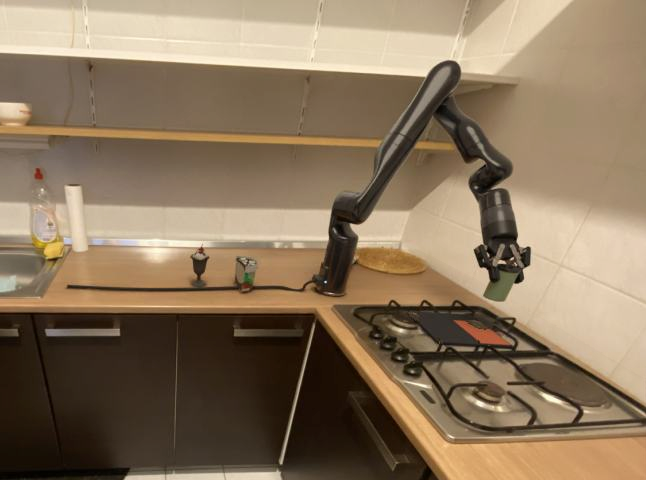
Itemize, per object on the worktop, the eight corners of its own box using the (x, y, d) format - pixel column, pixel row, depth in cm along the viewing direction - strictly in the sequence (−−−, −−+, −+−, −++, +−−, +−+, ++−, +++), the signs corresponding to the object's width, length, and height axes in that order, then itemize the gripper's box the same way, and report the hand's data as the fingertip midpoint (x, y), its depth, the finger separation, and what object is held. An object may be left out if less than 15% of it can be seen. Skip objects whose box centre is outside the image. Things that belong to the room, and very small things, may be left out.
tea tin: (490, 301, 104) (505, 269, 100) (478, 293, 109) (492, 263, 104) (510, 302, 104) (526, 270, 99) (497, 294, 109) (512, 264, 104)
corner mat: (437, 344, 105) (439, 341, 104) (406, 313, 122) (407, 310, 122) (512, 348, 104) (514, 345, 104) (470, 316, 122) (471, 314, 121)
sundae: (199, 289, 133) (202, 246, 126) (185, 283, 137) (187, 242, 129) (211, 284, 137) (214, 242, 130) (197, 279, 141) (199, 238, 134)
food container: (260, 294, 131) (264, 266, 126) (242, 295, 130) (246, 266, 125) (249, 281, 142) (252, 254, 136) (233, 281, 141) (236, 255, 136)
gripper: (513, 234, 110) (522, 289, 106) (462, 232, 110) (469, 286, 106) (536, 219, 103) (547, 277, 98) (481, 217, 103) (490, 274, 99)
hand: (507, 282), depth 102 cm, fingers closed on tea tin, 5 cm apart
